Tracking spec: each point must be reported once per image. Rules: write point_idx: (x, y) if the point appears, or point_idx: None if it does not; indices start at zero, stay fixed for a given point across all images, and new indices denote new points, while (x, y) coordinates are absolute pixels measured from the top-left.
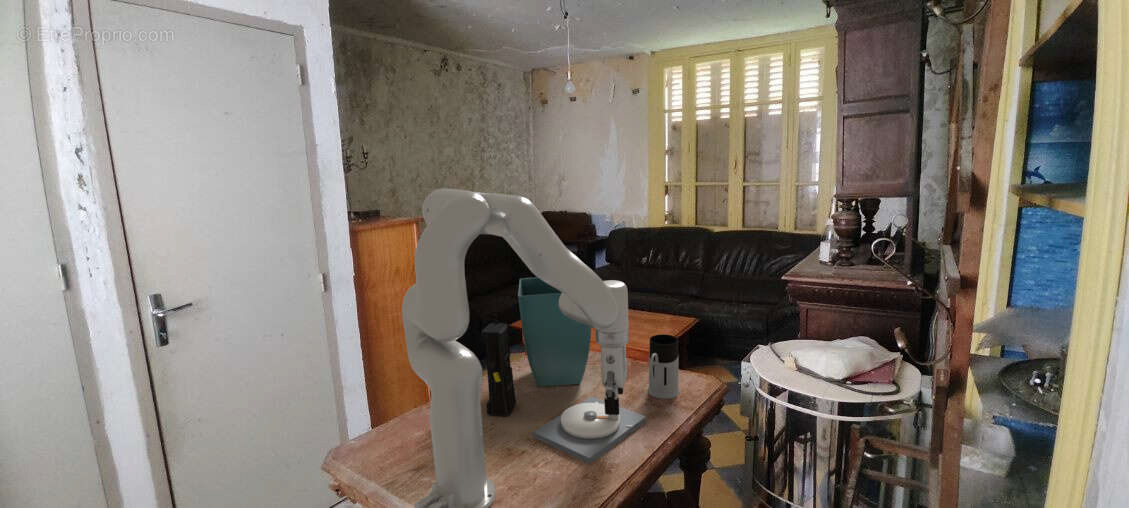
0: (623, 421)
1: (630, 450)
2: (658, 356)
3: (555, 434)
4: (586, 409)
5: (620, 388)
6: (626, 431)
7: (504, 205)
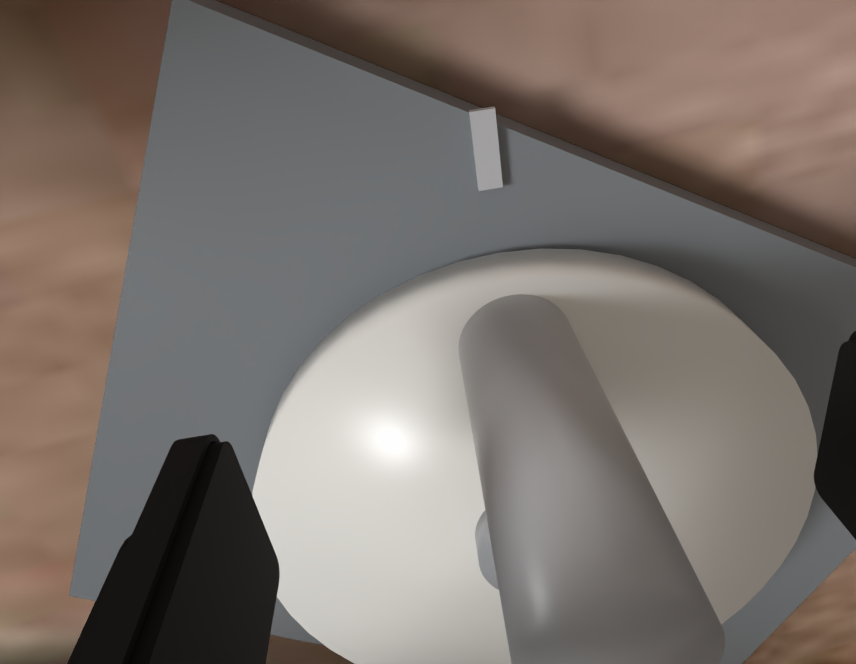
0: (395, 236)
1: (808, 37)
2: None
3: None
4: (409, 588)
5: (212, 534)
6: (577, 155)
7: None
